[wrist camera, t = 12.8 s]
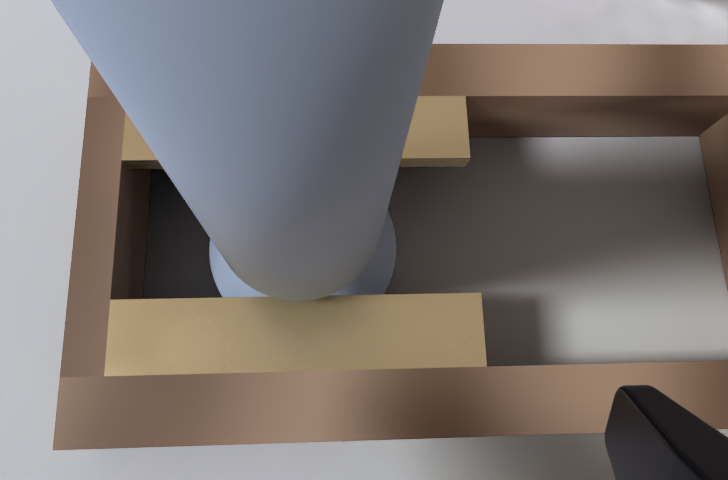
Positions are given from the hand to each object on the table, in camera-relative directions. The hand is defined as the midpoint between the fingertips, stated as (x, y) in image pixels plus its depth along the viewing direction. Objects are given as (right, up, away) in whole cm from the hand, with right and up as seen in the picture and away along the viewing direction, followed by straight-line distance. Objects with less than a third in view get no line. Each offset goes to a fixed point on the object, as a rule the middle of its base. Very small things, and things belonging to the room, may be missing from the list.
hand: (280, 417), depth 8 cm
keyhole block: (+3, +2, +10) cm, 11 cm away
